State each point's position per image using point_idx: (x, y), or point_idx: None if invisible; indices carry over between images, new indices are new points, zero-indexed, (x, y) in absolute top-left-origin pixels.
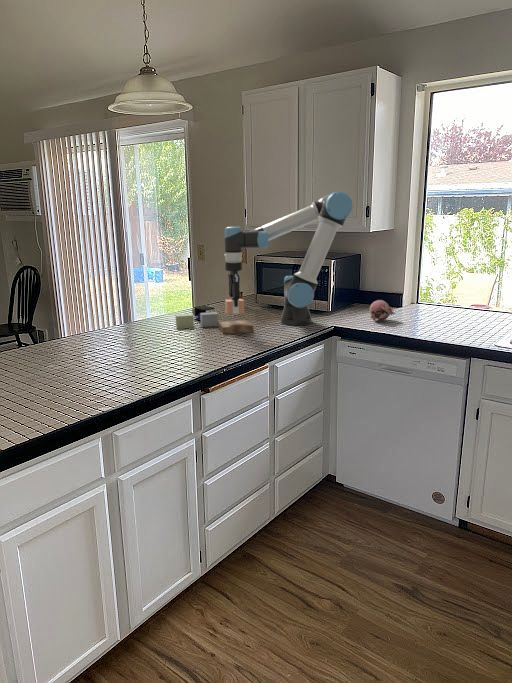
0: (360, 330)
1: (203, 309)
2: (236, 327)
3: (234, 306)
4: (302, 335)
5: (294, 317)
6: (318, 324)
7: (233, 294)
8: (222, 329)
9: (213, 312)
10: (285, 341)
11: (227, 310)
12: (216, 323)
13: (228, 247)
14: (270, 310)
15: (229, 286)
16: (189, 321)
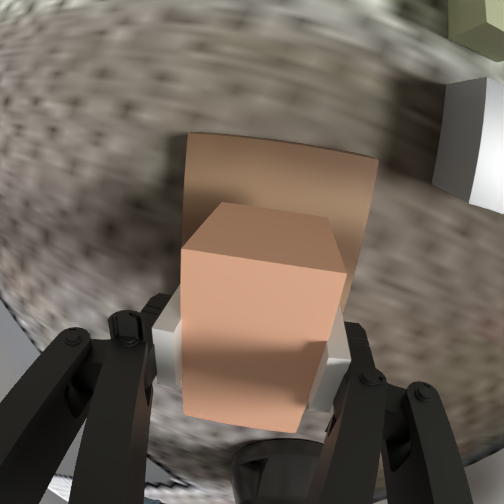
0: None
1: None
2: (184, 225)
3: (171, 296)
4: None
5: (238, 474)
6: (225, 482)
7: (98, 378)
8: (208, 133)
9: None
10: (32, 326)
11: (212, 215)
12: (440, 174)
13: None
14: (490, 441)
15: (430, 493)
16: (465, 8)
